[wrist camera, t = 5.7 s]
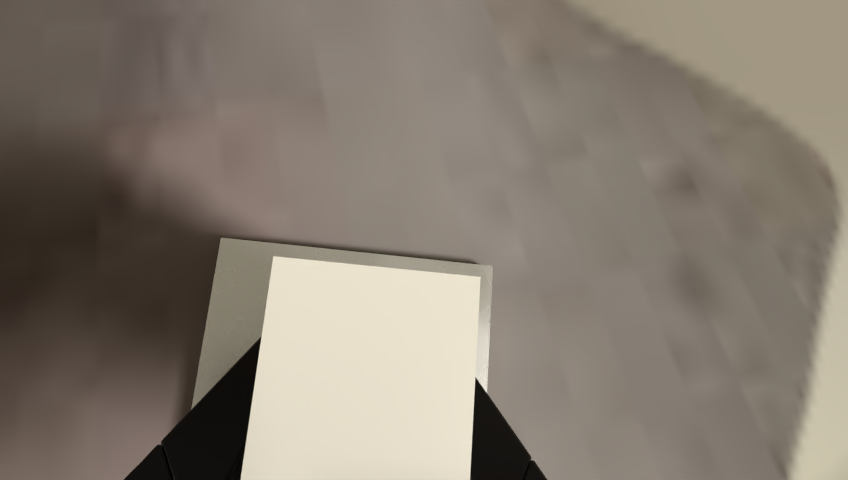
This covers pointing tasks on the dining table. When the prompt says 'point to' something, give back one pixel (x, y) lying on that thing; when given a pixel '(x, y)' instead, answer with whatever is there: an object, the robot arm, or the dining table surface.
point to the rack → (248, 289)
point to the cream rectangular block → (364, 374)
